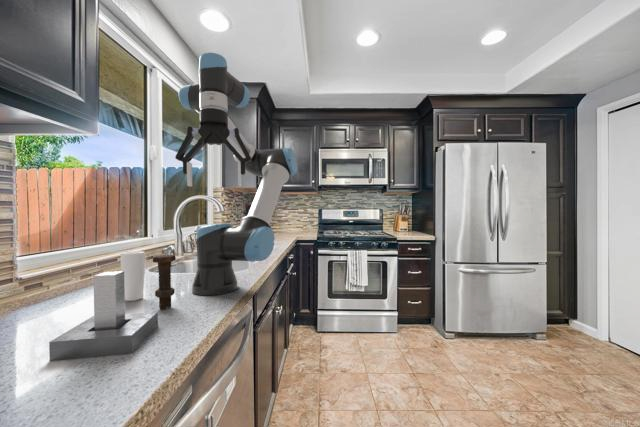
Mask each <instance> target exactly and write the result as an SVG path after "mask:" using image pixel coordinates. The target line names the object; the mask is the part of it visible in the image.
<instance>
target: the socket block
mask: <svg viewBox="0 0 640 427" xmlns="http://www.w3.org/2000/svg"><path fill="white" fill-rule="evenodd" d="M158 327H159V312H158V311H151V312H149V311H148V312H136V313H125V325H124V326H123V327H121V328H120V329H114V330H102V331H95V326H94V315H93V316H91V317H89V318H88V319H86V320H83V322H80V323H79V324H77V325H75V326H74V327H72V328H70V329H69V330H67V331H65V332H63V333H62V334H61V335H59V336H57V337H56V338H53V339H52V340H51V341H49V343H48V344H49V345H48V346H49V348H48V349H49V353H48V354H49V362H52V361H53V362H55V361H63V360H73V359H74V360H77V359H83V358H84V359H85V358H93V357H94V358H96V357H105V356H117V355H127V354H133V353H134V352H135V351H136V350H137V349H138V348H139V347H140V346H141V344H143V343H144V342H145V341H146V340H147V338H148V337H149V336H150V335H151V334H152V333H153V332H154V331H155V330H156V329H157V328H158Z"/></svg>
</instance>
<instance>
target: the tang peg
mask: <svg viewBox="0 0 640 427" xmlns="http://www.w3.org/2000/svg"><path fill="white" fill-rule="evenodd" d="M125 302H126V301H125V287H124V271H121V270H120V271H103V272H100V273H98V274H97V273H96V274H95V275H93V304H94V305H93V313H94V314H93V316H94V326H95V331H102V330H114V329H120V328H121V327H123V326H124V325H125V314H126V303H125Z"/></svg>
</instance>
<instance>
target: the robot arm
mask: <svg viewBox="0 0 640 427" xmlns="http://www.w3.org/2000/svg"><path fill="white" fill-rule="evenodd" d="M198 61H199V62H198V80H199V81H198V83H190V84H186V85H184V86H181V87H180V88H179V91H178V99H179V100H178V101H179V102H180V105H181V106H182V107H183V108H184V109H186V110H188V111H189V110H191V111H193V110H195V111H196V112H197V113H198V115H199V127H198V128H195V127H192V126H190V125H189V126H188V127H187V133H186V135H185V137H184V139H183V141H182V143H181V145H180V147H179V149H178V150H177V153H176V154H175V160H177V161H179V162H182V173H183V174H184V175H186V186H187V187H190V188H191V187H193V163H192V162H191V161H192V159H193V158H194V157H196V155H197V154H198V153H199V152H200V151H201V150H202V149H203V147H205V146H206V145H209V146H212V145H216V146H221V145H223V144H224V146H226V147H227V149H228V150H229V151H230V152H231V153H232V155H233V159H234V161H235V162H236V163H237V186H238V187H242V180H243V179H242V176H245V174H246V172H248V173H250V174H251V175H254V176H257V177H262V178H261V180H260V183H259V186H258V189H257V191H256V193H255V196H254V198H253V200H252V203H251V206H250V208H249V210H248V213H247V215H246V216H243V217H241V219H240V220H239V222H238V225H237V226H233V225H232V223H230V222H225V223H217V224H210V225H205V226H204V225H203V226H200V227H199V228H198V229H197V231H196V239H195V240H196V262H197V264H196V265H197V266H196V267H197V269H196V273H195V276H194V278H193V279H194V280H193V282H192V286H191V287H192V288H191V290H192V293H193V294H194V295H199V296H213V295H222V294H227V293H231V292H233V291H235V290H238V288H239V287H238V279H237V276H236V275H235V274H236V273H235V271H234V268H233V262H250V263H251V262H252V263H254V262H263V261H266V260H267V259H269V257H270V256H271V254H272V252H273V250H274V246H275V240H276V238H275V233H274V231H273V230H272V228H273V227H272V226H271V220H272V219H273V218H272V217H273V215H274V212H275V209H276V206H277V203H278V200H279V198H280V195H281V191H282V188H283V186H284V184H286V183H287V182H288V181H289V178H290V177H291V176H295V175H296V174H297V173H298V160H297V156H296V154H295V151H294V150H293V149H292V148H291V147H281V148H279V147H278V148H267V149H257V148H255V147H254V145H252V144H250V143H248V141H247V140H246V139H245V137H244V136H243V135H242V133H241V132H240V130H239V128H238V127H236V125H235V124H234V123H233V121H232V120H231V119H230V117H229V116H228V115H229V114H228V113H227V112H229V109H228V108H229V107H228V106H229V105H231V106H232V107H235V108H237V109H238V108H240V109H241V108H244V107H246V106H247V105H248V104H249V101H250V99H251V94H250V89H249V88H248V87H247V86H246V85H245V84H244V83H243V82H241V81H240V80H239V79H237V78H236V77H235V76H234V75H232V74H231V73H230V72H229V71H228V62H227V60H226V58H225V57H224V56H223V55H221V54H219V53H217V52H205V53H203V54H201V55H200V56H199V59H198ZM197 134H199V135H200V138H199V139H198V140H197V142H196V143H195V144H194V145H193V146H192V147H191V148H190V150H189V147H190V145H191V144H192V142H193V140H194V137H196V136H197ZM188 150H189V151H188ZM187 151H188V152H187ZM237 287H238V288H237Z"/></svg>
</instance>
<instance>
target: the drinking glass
mask: <svg viewBox="0 0 640 427" xmlns="http://www.w3.org/2000/svg"><path fill="white" fill-rule="evenodd" d="M146 263H147V262H146V252H145V251H144V250H137V251H136V250H135V251H133V250H132V251H125V252H120V271H124V287H125V302H135V301H139V300H142V299H143V298H144V297H145V296H144V290H145V274H146Z"/></svg>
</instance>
